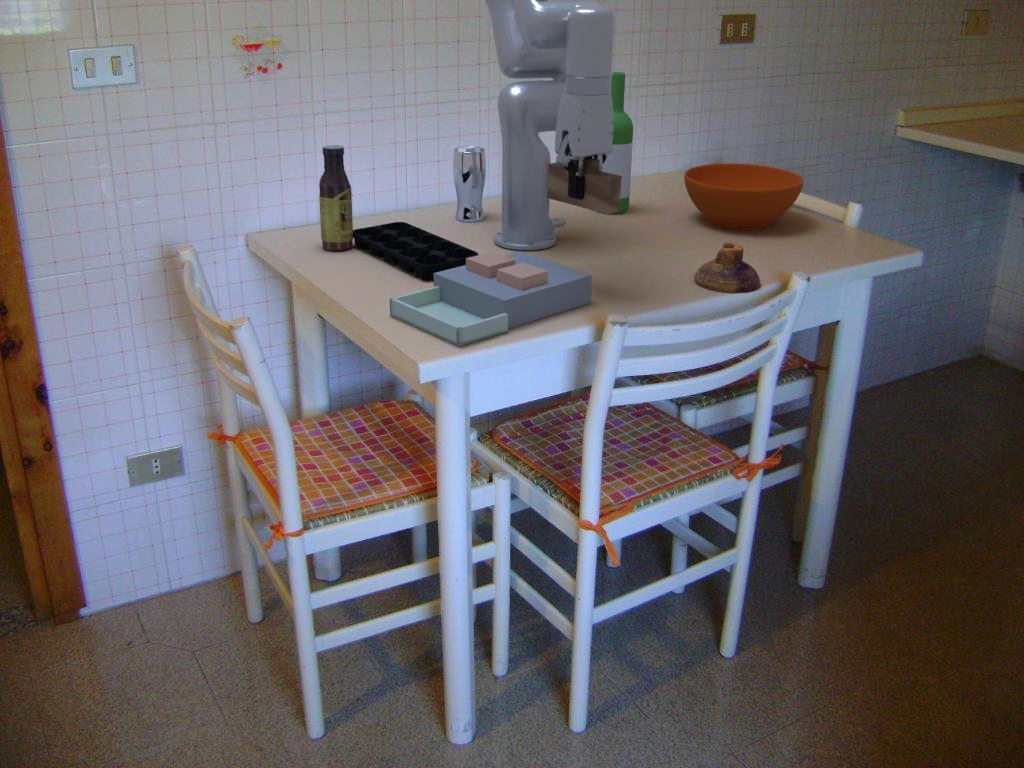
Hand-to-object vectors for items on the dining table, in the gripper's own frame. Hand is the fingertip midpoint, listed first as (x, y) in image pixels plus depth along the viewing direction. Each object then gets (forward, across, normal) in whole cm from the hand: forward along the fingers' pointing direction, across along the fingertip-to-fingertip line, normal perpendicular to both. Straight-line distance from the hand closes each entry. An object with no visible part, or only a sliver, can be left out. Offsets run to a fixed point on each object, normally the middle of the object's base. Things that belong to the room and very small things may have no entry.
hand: (583, 195), depth 182 cm
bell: (+18, -23, +16) cm, 33 cm away
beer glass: (+18, -18, -48) cm, 54 cm away
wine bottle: (+18, -46, -32) cm, 59 cm away
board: (+17, +13, -3) cm, 22 cm away
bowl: (+18, -60, -7) cm, 63 cm away
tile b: (+12, +15, 0) cm, 19 cm away
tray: (+17, +28, -3) cm, 33 cm away
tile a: (+12, +15, -8) cm, 20 cm away
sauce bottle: (+18, +16, -50) cm, 55 cm away
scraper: (+2, 0, 0) cm, 2 cm away
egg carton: (+18, +10, -34) cm, 40 cm away
